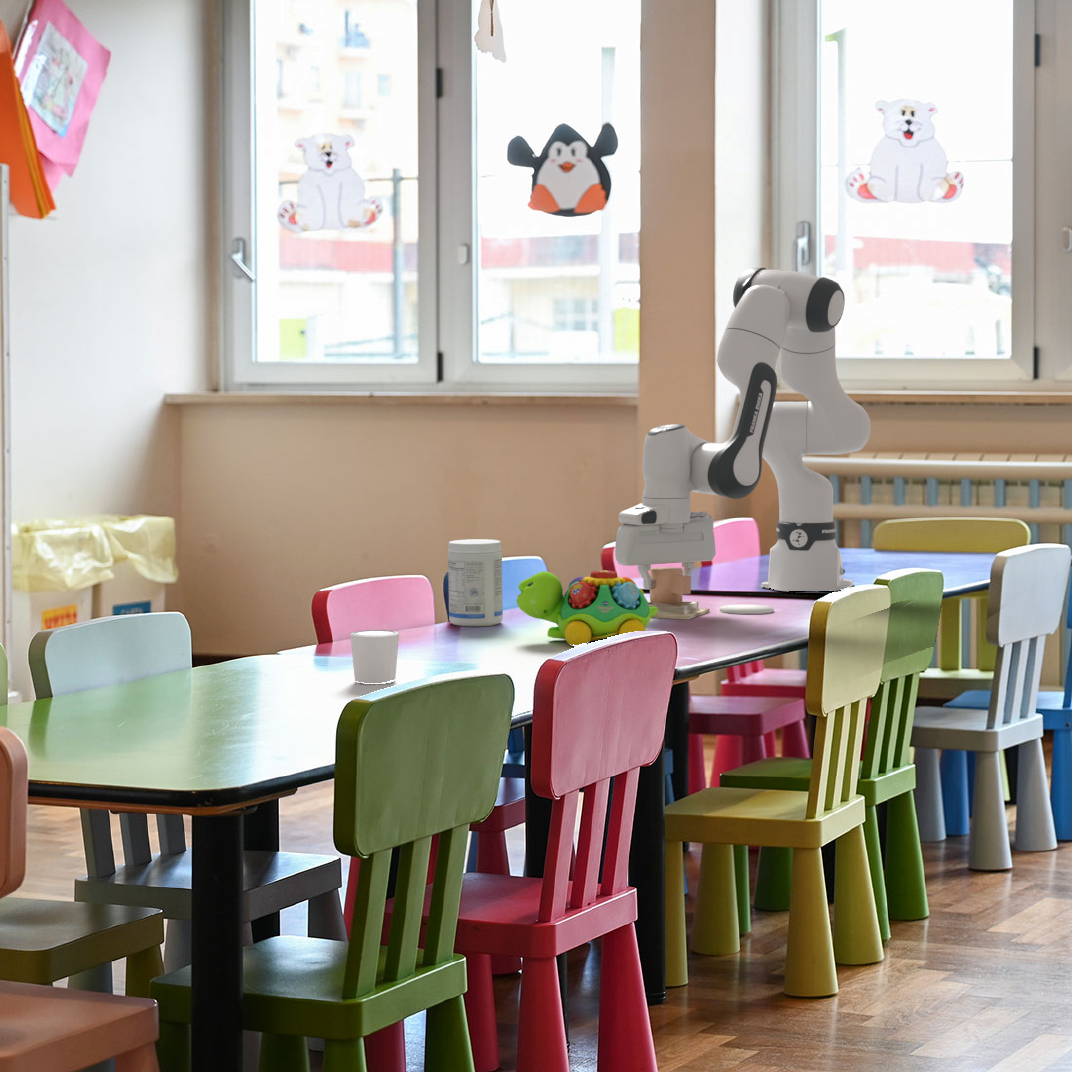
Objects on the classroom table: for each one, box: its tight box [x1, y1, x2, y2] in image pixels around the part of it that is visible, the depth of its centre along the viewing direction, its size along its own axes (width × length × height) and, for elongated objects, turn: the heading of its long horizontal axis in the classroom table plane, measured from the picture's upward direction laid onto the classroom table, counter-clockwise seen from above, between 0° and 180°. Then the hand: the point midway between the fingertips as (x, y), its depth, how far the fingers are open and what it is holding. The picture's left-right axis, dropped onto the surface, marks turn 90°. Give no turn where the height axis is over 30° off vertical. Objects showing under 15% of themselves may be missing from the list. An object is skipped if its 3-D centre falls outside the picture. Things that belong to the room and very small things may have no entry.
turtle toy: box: [516, 569, 658, 645], centre depth 282 cm, size 17×23×12 cm
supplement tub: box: [447, 538, 504, 627], centre depth 304 cm, size 10×10×15 cm
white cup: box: [349, 629, 400, 683], centre depth 242 cm, size 7×7×7 cm
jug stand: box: [647, 600, 710, 620], centre depth 318 cm, size 12×12×2 cm
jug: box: [649, 566, 692, 603], centre depth 316 cm, size 6×10×6 cm, turn 30°
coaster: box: [719, 604, 775, 615], centre depth 322 cm, size 10×10×1 cm
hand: (666, 587), depth 318 cm, fingers closed on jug, 6 cm apart
